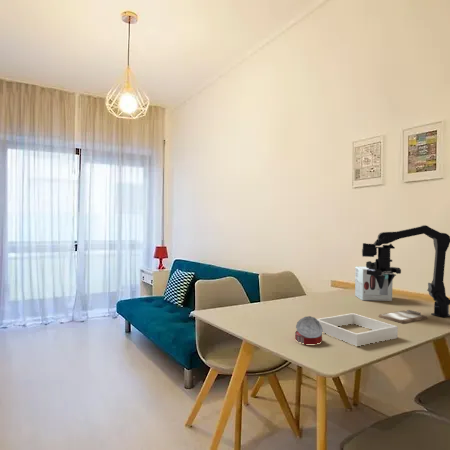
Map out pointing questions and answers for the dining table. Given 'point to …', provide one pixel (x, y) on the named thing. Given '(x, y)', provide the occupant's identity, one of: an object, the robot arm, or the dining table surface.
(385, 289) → the marker
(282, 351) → the dining table surface
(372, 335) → the lotus tray rim
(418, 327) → the dining table surface
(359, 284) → the supplement box
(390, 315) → the clipboard
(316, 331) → the canned food
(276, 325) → the dining table surface
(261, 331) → the dining table surface
